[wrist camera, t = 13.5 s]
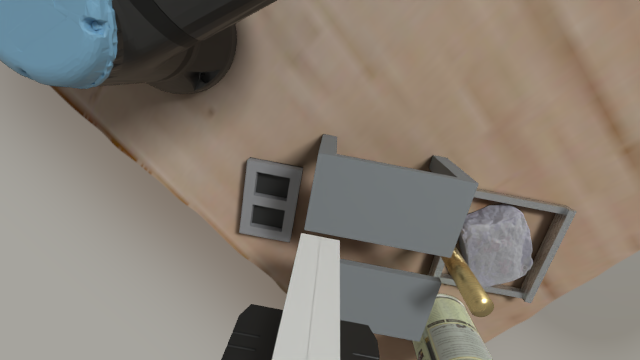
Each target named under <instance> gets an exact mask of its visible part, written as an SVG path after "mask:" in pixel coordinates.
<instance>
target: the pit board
mask: <svg viewBox="0 0 640 360" xmlns="http://www.w3.org/2000/svg"><path fill="white" fill-rule="evenodd" d="M302 171H303V167H298V166H292V165H287V164H282V163H277V162H272V161H267V160H261V159H256V158H251V157H250V158H249V159H248V160H247V168H246V177H245V186H244V195H243V204H242V213H241V222H240V231H239V233H243V234H248V235H253V236H258V237H264V238H269V239H274V240H279V241H285V242H290V239H291V235H292V229H293V223H294V218H295V212H296V206H297V200H298V195H299V189H300V183H301V177H302Z"/></svg>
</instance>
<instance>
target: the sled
mask: <svg viewBox="0 0 640 360" xmlns="http://www.w3.org/2000/svg"><path fill="white" fill-rule="evenodd" d="M474 197H476V198H481V199H486V200H491V201H497V202H502V203H507V204H512V205H517V206H523V207H528V208H533V209H538V210H543V211H549V212H554V213H556V214H555V217H554V219H553V221H552V223H551V225H550V227H549V229H548V231H547V233H546V235H545V238H544V240H543V242H542V244H541V246H540V248H539V250H538V252H537V254H536V256H535V259H534V261H533V265H532V266H531V269H530V270H529V271H528V273H527V275H526V277H525V280H524V282H523V284H522V286H521V288H516V287H510V286H505V285H500V284H498V285H493V286H490V287H485V288H483V287H482V286H481V284H480V283H479V281H478V280H477V278H476V277H475V275H474V274H473V272H472V271H471V269H470V268H469V266H468V265H467V263H466V262H465V260H464V259H463V257H462V256H461V254H460V253H459V251H458V250H457V248H456V247H455V248H454V251H453V254H452V256H451V258H448V257H443V256H438V255H435V256H434V259H433V262H432V265H431V267H430V270H429V273H428V276H434V277H439V278H440V280H441V282H442V283H444V284H449V285H454V286H457V288H458V289H459V291H460V293H461V295H462V297H463V299H464V300H465V302H466V304H467V306H468V308H469V310H470V311H471V313H472V314H473V315H474V316H477V317H485V316H487V315H489V314H490V313H491V312H492V311H493V309H494V305H493V302H492V301H491V299H490V298H489V296H488V295H487V293H486V292H491V293H496V294H502V295H507V296H512V297H517V298H522V299H523V300H524V302H528V303H531V302H532V300H533V298H534V296H535V294H536V292H537V290H538V288H539V286H540V284H541V282H542V280H543V278H544V276H545V274H546V272H547V270H548V268H549V266H550V264H551V262H552V260H553V258H554V256H555V254H556V252H557V250H558V248H559V246H560V244H561V242H562V240H563V238H564V236H565V234H566V232H567V230H568V228H569V226H570V224H571V222H572V220H573V218H574V216H575V214H576V211H575V210H573V209H571V208H570V207H568V206H565V205H560V204H554V203H549V202H544V201H539V200H534V199H529V198H523V197H518V196H513V195H508V194H503V193H497V192H492V191H487V190H482V189H476V192H475V195H474ZM444 265H445V266H446V267H447V269H448V271H449V273H450V275H448V274H442V270H443V268H444ZM485 291H486V292H485Z"/></svg>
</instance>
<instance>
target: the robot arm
mask: <svg viewBox="0 0 640 360" xmlns="http://www.w3.org/2000/svg"><path fill="white" fill-rule="evenodd" d="M275 1H277V0H0V60H1V61H2V62H3V63H4V64H6V65H7V66H8V67H9V68H11V69H13V70H14V71H16V72H17V73H19V74H20V75H22V76H25V77H28V78H30V79H32V80H35V81H37V82H39V83H42V84H45V85H50V86H59V87H72V88H79V89H83V88H84V89H88V88H91V87H96V86H107V85H120V84H134V83H147V84H149V85H151V86H153V87H155V88H157V89H160V90H162V91H165V92H170V93H175V94H189V93H195V92H200V91H203V90H206V89H208V88H210V87H212V86H214V85H215V84H216V83H218V82H219V81H220V80H221V79H222V78H223V77H224V76H225V74H226V73H227V71H228V70H229V68H230V66H231V64H232V62H233V59H234V55H235V51H236V42H237V35H236V27H235V23H237V22H239V21H240V20H242V19H244V18H246V17H248V16H250V15H251V14H253V13H255V12H257V11H259V10H260V9H262V8H264V7H266V6H268V5H270V4H271V3H273V2H275ZM221 360H379V350H378V343H377V339H376V338H375V336H374V334H373V332H372V331H371V329H370V327H369V326H368V325H365V324H360V323H354V322H349V321H344V320H340V240H335V239H330V238H324V237H319V236H314V235H309V234H304V233H301V236H300V241H299V245H298V249H297V254H296V258H295V262H294V266H293V271H292V275H291V279H290V284H289V288H288V292H287V297H286V301H285V305H284V310H280V309H274V308H268V307H264V306H258V305H253V304H251V305H250V306H249V307H248V308H247V309H246V310H245V311H244V312H243V313H241V314H240V315H239V317H238V320H237V323H236V325H235V328H234V330H233V333H232V335H231V337H230V340H229V342H228V345H227V347H226V349H225V352H224V354H223V357H222V359H221Z"/></svg>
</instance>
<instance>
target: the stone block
mask: <svg viewBox="0 0 640 360" xmlns="http://www.w3.org/2000/svg"><path fill="white" fill-rule="evenodd" d="M458 240H459V244H460V248H461V252H462V256H463V259H464V260H465V262H466V263H467V265H468V266H469V268H470V269H471V271H472V272H473V274H474V275H475V277H476V278H477V280H478V281H479V283H480V284H481V286H482V287H483V288H485V287H490V286H493V285H498V284H502V283H507V282H510V281H514V280H516V279H518V278H520V277H522V276H524V275H526V273H527V271H528V270H530V269H531V266H532V265H533V260H532V258H531V254H532V241H531V237H530V230H529V227H528V225H527V222H526V220H525V218H524V215H523V213H522V212H521V211H520V210H518V209H517V208H515V207H513V206H510V205H507V204H502V205H489V206H486V207H485V208H483V209H480V210H478V211H476V212H473V213H469V214H468V215H467V216H466V219H465V221H464V224H463V227H462V229H461V232H460V235H459V237H458Z"/></svg>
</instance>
